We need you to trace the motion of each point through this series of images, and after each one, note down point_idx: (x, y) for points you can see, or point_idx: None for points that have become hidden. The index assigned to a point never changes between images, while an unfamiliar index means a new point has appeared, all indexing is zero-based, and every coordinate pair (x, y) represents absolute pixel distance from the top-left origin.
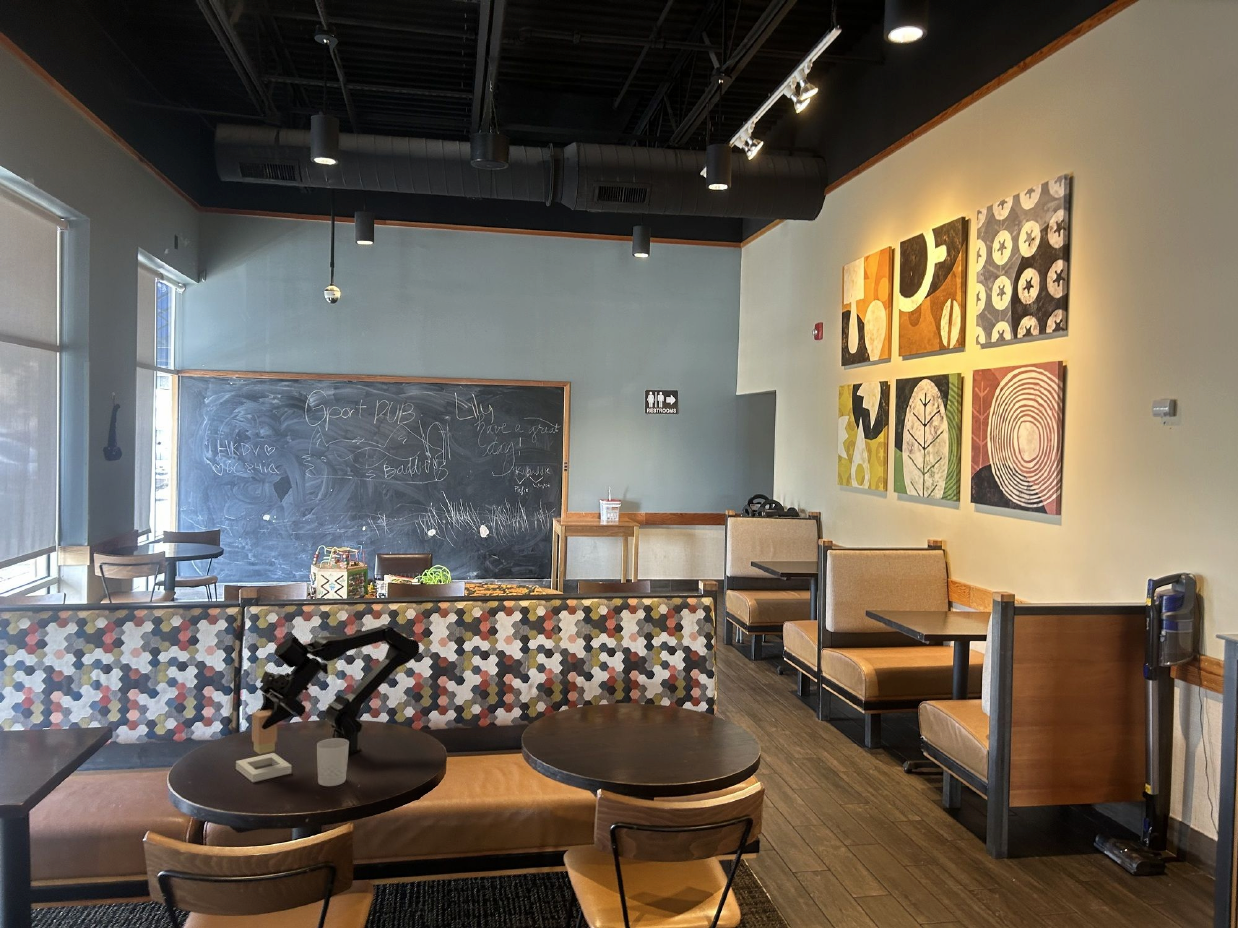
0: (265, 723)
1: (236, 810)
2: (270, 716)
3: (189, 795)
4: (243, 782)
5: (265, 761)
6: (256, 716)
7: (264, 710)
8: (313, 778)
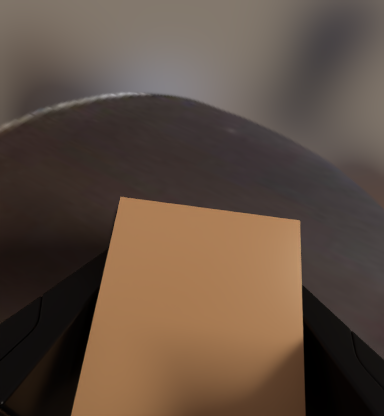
0: (106, 250)
1: (30, 122)
2: (46, 295)
3: (168, 103)
4: (151, 197)
5: None
6: (186, 209)
7: (288, 352)
8: None
